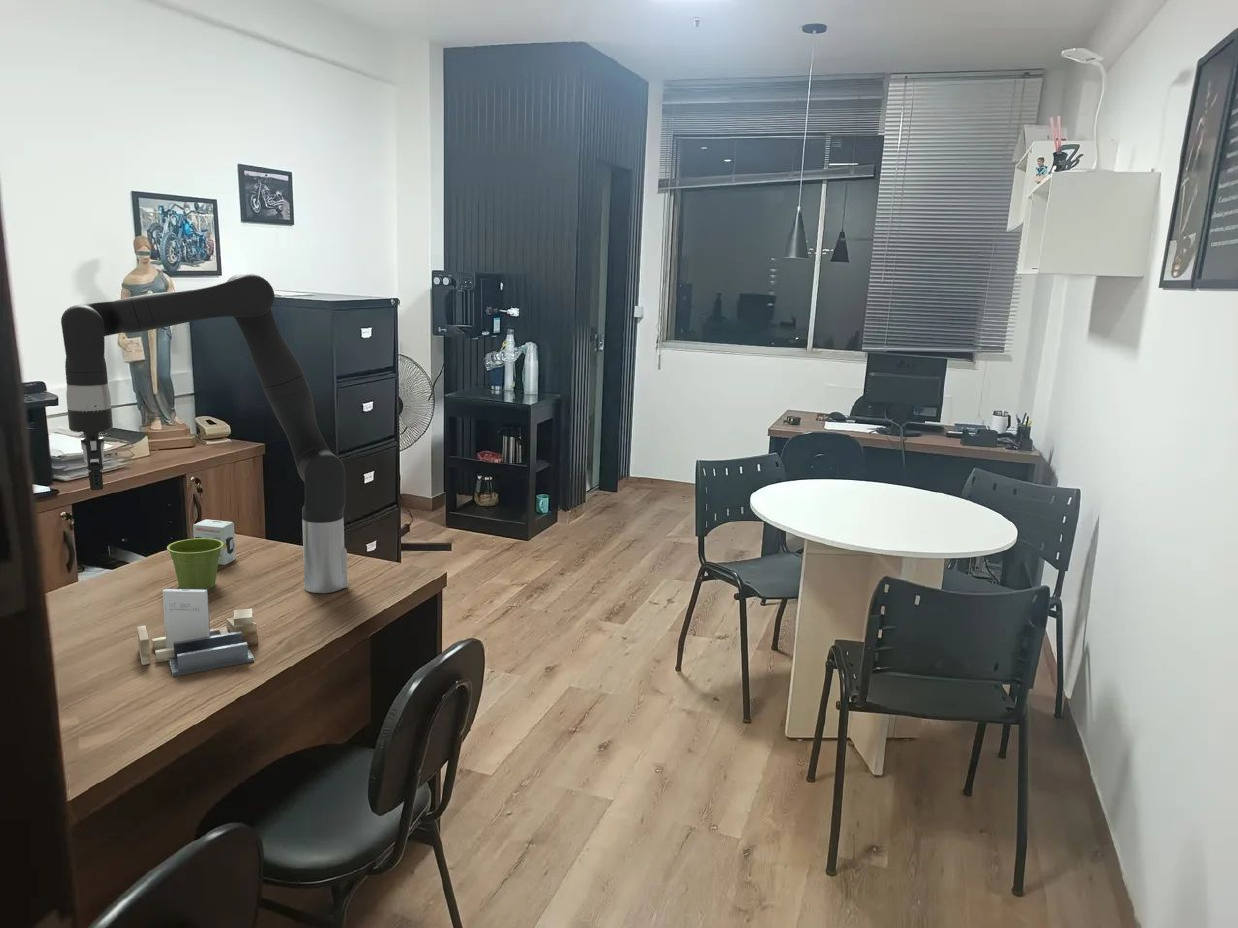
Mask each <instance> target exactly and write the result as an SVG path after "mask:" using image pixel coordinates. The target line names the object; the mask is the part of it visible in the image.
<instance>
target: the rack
mask: <svg viewBox="0 0 1238 928" xmlns="http://www.w3.org/2000/svg"><path fill="white" fill-rule="evenodd" d="M136 629H137V643H138V645H137V646H138V654H139V658H140V663H141V665H142V666H144V665H151V653H150V639H149V635H148V631H147V627H146V625H139V626H137V627H136ZM227 633H228V629H227V626H224V627H217V628H215V627H214V628H210V636H215V635H221V634H227ZM151 640H152V641H151V642H152V644H151V646H152V651H154V653H155V662H156V663H160V662H162V663H163V662H167V661H168V662H169V660H168V658H171V657H174V647H172V648H166V637H165V636H161V637H156V638H155V637H154V638H151Z"/></svg>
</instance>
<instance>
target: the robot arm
mask: <svg viewBox="0 0 1238 928" xmlns="http://www.w3.org/2000/svg"><path fill="white" fill-rule="evenodd" d="M274 302H275V291H274V288H273V287H272V285H271V283H270V282H269V281H268V280H267V279H265V278H264V277H262V276H260V275H258V274H255V273H249V272H247V273H246V272H242V273H236V274H233V275H231V277H229V278H228V280H227V281H226V282H222V283H218V284H215V285H212V286H211V285H210V286H207V287H202V288H196V289H189V290H180V291H179V290H177V291H176V290H175V291H165V292H164V291H163V292H156V293H155V292H154V293H148V294H141V295H135V296H129V297H124V298H120V299H116V300H109V301H100V302H92V303H82V304H77V305H76V304H75V305H73V306H69V307H68V308H66V310H65V311H64V312H63V313H62V314H61V315H62V316H61V318H60V324H61V330H62V339H63V344H64V351H65V362H64V363H65V365H64V366H65V367H64V368H65V369H64V370H65V378H66V379H65V381H66V393H65V394H66V396H65V397H66V407H67V417H68V429H69V430H70V432H75V433H83V435H84V438H80V445H81V450H82V453H83V455H82V456H83V461H84V462H85V463H86V464H87V466H86V467H87V468H86V470H87V473H88V480H89V488H90V491H101V490H103V489H104V481H103V480H104V479H103V470H104V465H103V462H104V461H105V453H104V451H105V450H104V449H105V439H104V437H100V435H99V434H100V433H101V432H108V431H110V430H112V429H113V427H114V425H113V411H112V401H111V400H112V399H111V392H110V388H109V380H108V368H107V362H106V358H105V348H106V347H105V343H106V342H105V337H108V336H113V335H117V334H134V333H135V334H136V333H140V332H146V331H153V330H158V329H162V328H168V327H172V326H176V325H180V324H181V325H182V324H186V323H192V322H194V321H195V322H197V321H202V320H208V319H215V318H228V317H229V318H230V317H231V318H232V317H233V318H234V320H235V321H236V323H237V325H238V328H239V329H240V331H241V333H242V334H243V337H244V340H245V341H246V344H247V346H248V350H249V353H250V356H251V359H252V362H253V365H254V368H255V370H256V374H257V376H258V378H259V380H260V384H261V386H262V389H263V391H264V393H265V396H266V398H267V400H268V403H269V405H270V407H271V408H272V411H273V413H274V416H275V417H276V418H277V421H278V423H279V425H280V427H281V428H282V429H283V431H284V433H285V435H286V438H287V440H288V443H289V446H290V449H291V452H292V456H293V459H294V462H295V463H294V464H295V465H296V470H297V473H298V475H299V477H300V479H301V480H302V481H303V482H304V504H303V506H302V507H301V508H302V509H301V517H302V518H301V519H302V520H301V522H302V523H301V524H302V550H303V551H302V553H303V557H302V558H303V582H304V583H303V584H304V585H303V586H304V587H303V588H304V590H305V591H307V592H310V593H313V594H327V593H328V594H329V593H333V592H337V591H340V590H342V589H346V588H348V587H349V586H348V551H347V548H346V547H345V530H344V529H345V527H344V525H345V523H344V519H345V518H344V511H345V507H346V502H347V501H346V499H347V498H346V497H347V494H346V493H347V492H346V491H347V487H346V486H347V475H346V469H345V465H344V461H342V460H341V458H340V457H338V456H337V455H335V454H334V453H333V452H332V451H331V450H330V448H329V446H328V444H327V442H326V441H325V438H324V437H323V435H322V432H321V431H320V428H319V425H318V421H317V417H316V410H315V405H314V399H313V395H312V392H311V388H310V386H309V383H308V381H307V379H306V376H305V373H304V371H303V368H302V367H301V365H300V363H299V361H298V360H297V359H298V358H296V356H295V354H294V353H293V351H292V350H291V348H290V346H289V345H288V343H287V342H286V340H285V339H284V337H283V336H282V334H281V332H280V330H279V327H278V325H277V322H276V320H275V319H276V318H275V316H274V313H273V310H272V307H273V305H274Z"/></svg>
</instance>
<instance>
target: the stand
mask: <svg viewBox="0 0 1238 928" xmlns="http://www.w3.org/2000/svg"><path fill="white" fill-rule="evenodd" d="M173 646H174V657H171V658H168V665H169V668H170V672H171V675H172V677H178V676H184V675H190V674H195V673H200V672H205V671H210V670H215V669H220V668H221V669H222V668H227V667H232V666H236V665H237V666H238V665H242V664H249V663H253V662H255V657H254V655H253V653H252V652H251V649H250V648H249V647H250V646H248V645H247V642H244V643H242V632H241V631H239V632H233V633H227V634H221V635H215V636H209V637H203V638H197V639H191V640H185V641H179V642H173Z"/></svg>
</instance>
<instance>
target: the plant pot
mask: <svg viewBox="0 0 1238 928" xmlns="http://www.w3.org/2000/svg"><path fill="white" fill-rule="evenodd" d="M223 545H224V543H223V542H222V541H220V540H217V539H209V538H196V539H194V538H188V539H183V540H178V541H174V542H172V543H169V544H168V545H167V546H166V550H167V551H168V552H169V554H170V558H171V560H172V562H173V567H174V571H175V574H176V578H177V583H178V589H206V590H210V589H212V588H214V587H215V585H216V580H217V573H218V567H219V564H218V560H219V556H220V552H221V548H222V547H223Z"/></svg>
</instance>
